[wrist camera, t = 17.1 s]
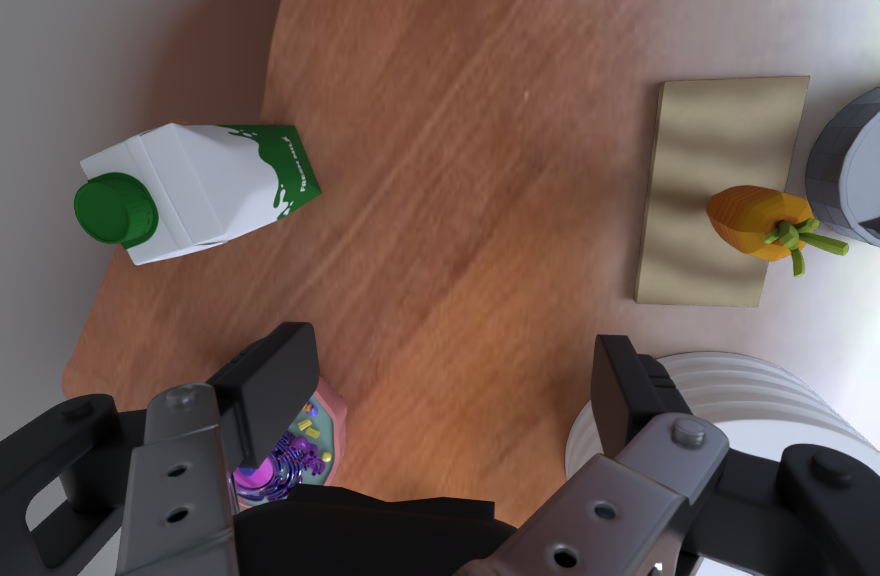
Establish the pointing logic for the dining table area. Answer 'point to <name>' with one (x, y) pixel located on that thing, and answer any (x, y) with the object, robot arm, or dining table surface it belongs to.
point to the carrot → (768, 224)
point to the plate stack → (741, 416)
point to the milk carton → (192, 187)
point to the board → (712, 184)
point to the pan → (849, 171)
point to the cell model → (300, 451)
